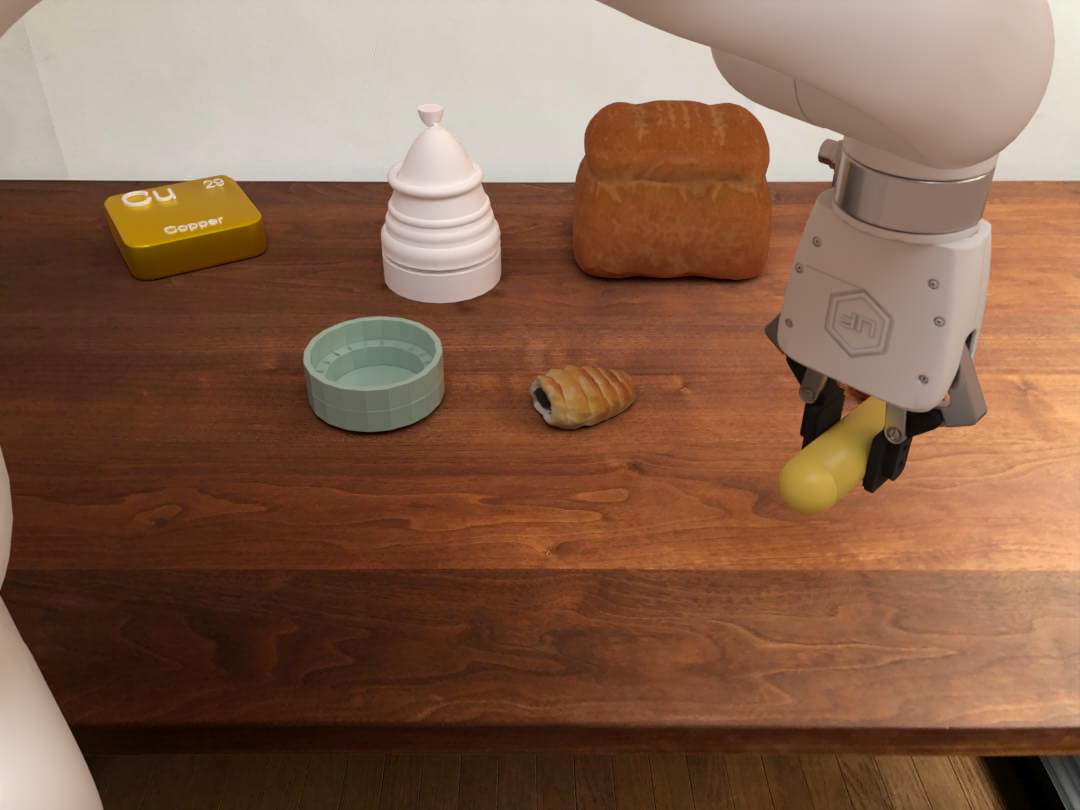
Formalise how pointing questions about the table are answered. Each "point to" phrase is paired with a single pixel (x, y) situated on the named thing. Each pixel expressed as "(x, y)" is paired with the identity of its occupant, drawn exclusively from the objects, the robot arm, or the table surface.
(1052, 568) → the table surface
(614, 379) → the pastry
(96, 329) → the table surface
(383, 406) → the bowl
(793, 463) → the yellow gas cartridge
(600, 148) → the bread
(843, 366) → the robot arm
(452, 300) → the honey pot
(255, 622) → the table surface
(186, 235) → the element tile
